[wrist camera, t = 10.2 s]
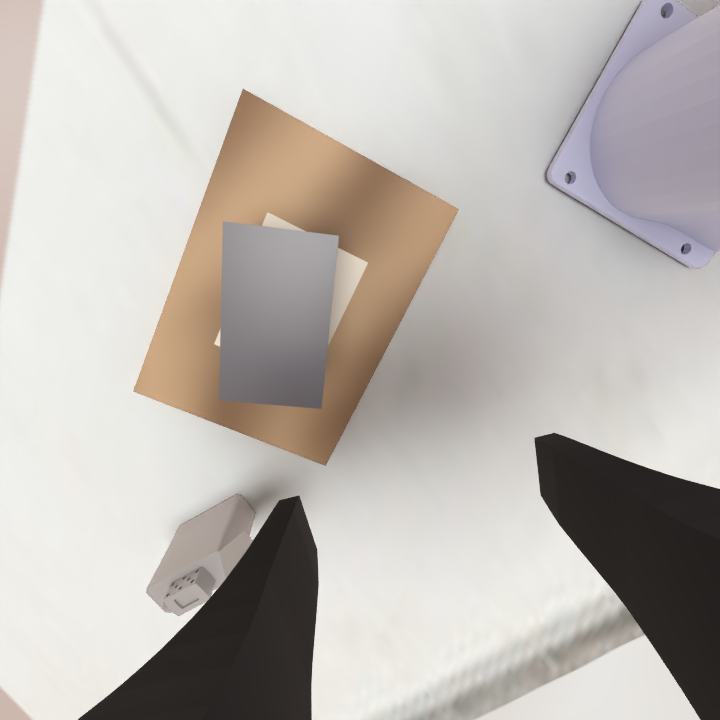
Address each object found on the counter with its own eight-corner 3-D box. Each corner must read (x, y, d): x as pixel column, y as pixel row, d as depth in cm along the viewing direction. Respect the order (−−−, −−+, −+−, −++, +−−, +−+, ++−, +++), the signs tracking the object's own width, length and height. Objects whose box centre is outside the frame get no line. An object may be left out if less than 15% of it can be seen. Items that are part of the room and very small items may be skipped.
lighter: (196, 547, 23) (129, 701, 15) (177, 526, 23) (99, 674, 15) (301, 490, 22) (287, 620, 15) (284, 467, 22) (260, 589, 14)
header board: (452, 210, 19) (472, 206, 16) (325, 455, 22) (325, 486, 19) (247, 97, 17) (232, 70, 14) (142, 384, 20) (113, 406, 17)
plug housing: (336, 236, 17) (338, 235, 13) (323, 366, 19) (321, 408, 14) (252, 225, 17) (222, 220, 12) (247, 359, 19) (218, 400, 14)
